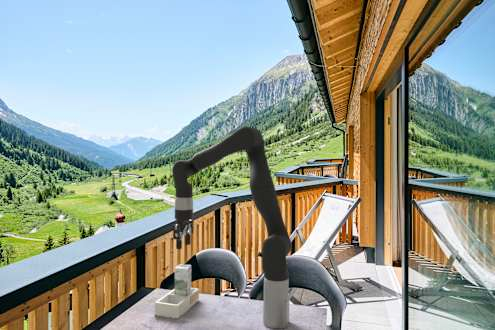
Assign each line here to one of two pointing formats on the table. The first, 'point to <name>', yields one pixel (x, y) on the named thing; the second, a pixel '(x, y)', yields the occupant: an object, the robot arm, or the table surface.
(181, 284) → the syrup box
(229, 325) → the table surface
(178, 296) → the box
